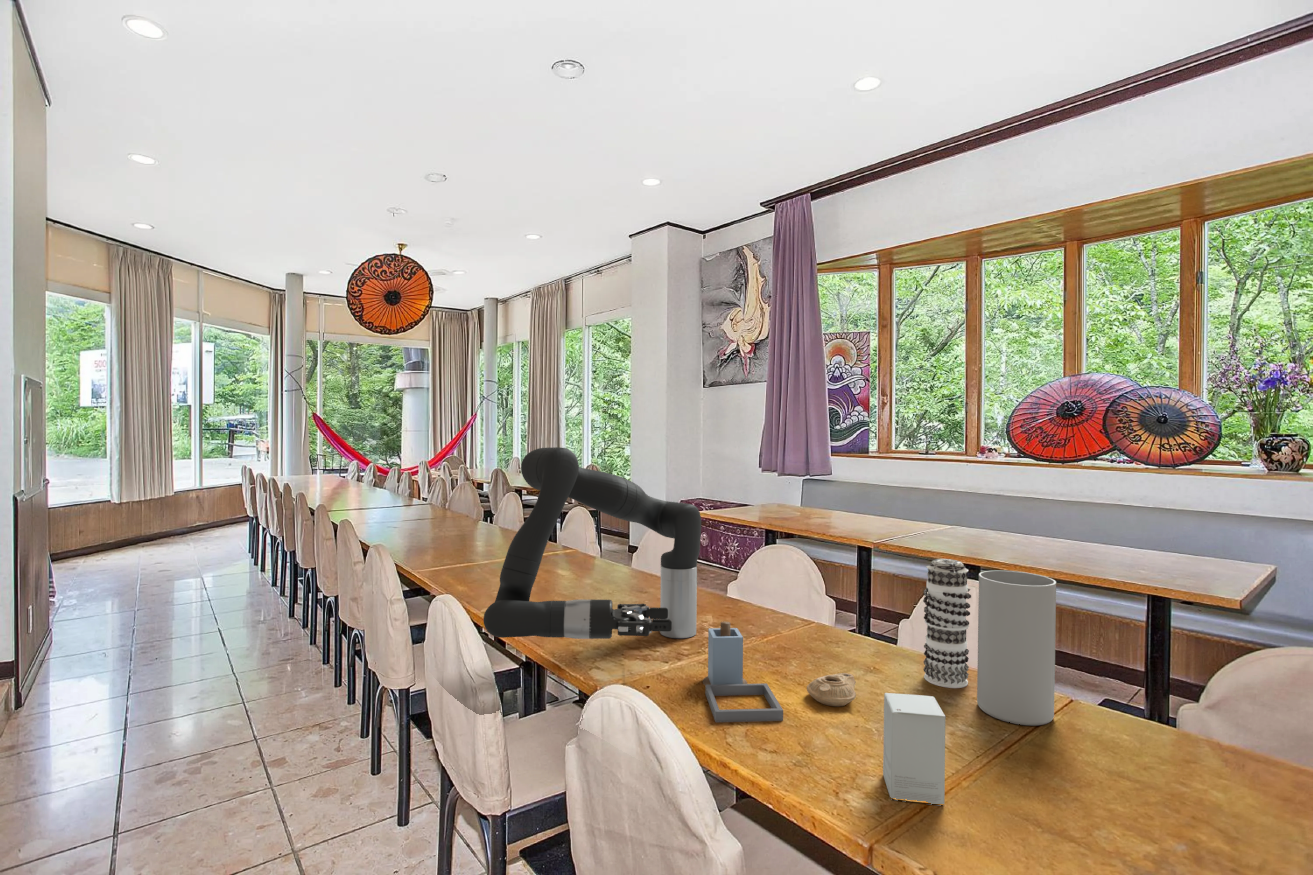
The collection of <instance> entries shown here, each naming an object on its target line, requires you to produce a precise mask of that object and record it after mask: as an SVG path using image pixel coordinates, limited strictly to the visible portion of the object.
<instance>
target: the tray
mask: <svg viewBox="0 0 1313 875" xmlns="http://www.w3.org/2000/svg"><path fill="white" fill-rule="evenodd" d="M704 693H705V697H706V699H707V702H708V705H709V708H710V710H711V714H712V717H713V719H714V722H715V723H741V722H742V723H743V722H745V723H746V722H781V721H782V722H784V709H783V707H782V706H781V704H780V703H779V701H778V699H777V697H776V695H775V694H774V693H773V691H772V690H771V687H770V686H769V685H768V683H747V684H713V685H706V686H705V692H704ZM759 695H761V696H764V697H765V700H766V701H767V704H768V705H769V706H770V708H743V709H742V708H741V709H740V708H738V709H736V708H735V709H733V708H732V709H720V708H719V705H718V702H717V700H716V698H715V696H719V697H720V696H723V697H725V696H759Z"/></svg>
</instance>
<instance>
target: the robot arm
mask: <svg viewBox="0 0 1313 875" xmlns="http://www.w3.org/2000/svg"><path fill="white" fill-rule="evenodd" d="M520 472H521V475H522V477H523V480H524V481H525V482H526V483H527V484H528V486H530V487H531V488H532V489H535V490H536V491H539V494H538V496H537V500H536V502H535V505H534V506H533V509H532V510H531V512H530V514H529V515H528V517H527V518H526V519H525V521H524V523H523V524H522V525H521V526H520V527H519V529H518V531H517V532H516V534H515V535H514V536H513V538H512V539H511V540H512V541H511V542H510V544H509V547H508V550H507V552H506V555H505V558H504V562H503V565H502V568H501V570H500V575H499V588H498V591H497V594H496V597H495V601H494V602H493V603H491V604H490V605H489V606H488V607H487V609H486V610H485V612H484V614H483V626H484V628H485V630H486V631H487V633H488V634H490V635H491V636H492V637H496V638H499V639H500V638H503V639H504V638H521V637H522V638H523V637H540V638H568V639H576V640H577V639H579V640H582V639H583V640H586V639H587V640H590V639H591V640H595V639H597V640H598V639H599V640H600V639H601V640H602V639H604V640H608V639H611V638H612V636H613V630H617V636H621V637H622V636H625V637H626V636H627V637H629V636H633V637H634V636H635V637H636V636H637V637H648V636H650V634H652V633H653V632H659V633H660V635H662V636H664V637H666V638H669V639H688V638H691V637H694V636H696V635H697V615H698V614H697V611H698V610H697V608H698V607H697V606H698V605H697V603H698V602H697V601H698V600H697V599H698V598H697V596H698V594H697V589H698V587H697V584H698V577H697V576H698V575H697V574H698V573H697V572H698V567H697V566H698V559H699V556H700V552H701V539H702V538H701V537H702V517H701V513H700V510H699V508H698V507H697V506H696V505H694V504H691V503H686V502H685V503H684V502H675V501H667V500H662V499H658V498H655V497H652V496H650V495H648V494H647V493H646V492H645V491H644V490H643V489H642V487H641V486H640V485H638V484H637V483H635V482H634V481H631V480H629V479H626V478H624V477H621V476H619V475H616V474H614V473H609V472H605V471H600V470H595V469H590V468H589V469H588V468H585V467H584V468H583V467H580V466H579V460H578V457H577V455H576V454H575V453H574V452H573V451H572V450H571V449H569V448H567V447H556V446H555V447H539V448H536V449H534V450H531V451H530V452H528V453H527V454H526V455H525V456H524V457H523V458H522V462H521V465H520ZM569 498H570V499H572V500H573V501H576V502H578V503H580V504H582V505H584V506H587V507H589V508H590V509H591V508H592V509H594V510H596V511H597V512H598V511H599V512H601V513H602V514H606V515H608V516H611V517H613V518H616V519H620V520H623V521H626V522H630V523H637V524H639V525H642V526H644V527H646V528H648V529H650V530H652V531H653V532H655V533H656V534H659V535H660V536H663V537H665V538H669V539H673V540H674V541H673V548H672V549H671V550H670V551H666V552H663V553H662V554H661V557H660V607H650V606H649V605H647V604H645V603H618V604H617V608H615V609H614V608H613V601H612V599H572V600H544V601H543V600H542V601H531V600H530V599H531V593H532V589H533V586H534V584H535V582H536V579H537V577H538V576H537V575H538V572H539V569H540V566H541V562H542V559H543V556H544V553H545V549H546V548H547V545H548V543H549V540H550V537H551V534H552V533H553V530H554V528H555V525H556V524H557V521H558V519H559V517H560V516H561V513H562V511H563V509H564V507H565V505H566V503H567V500H568V499H569Z"/></svg>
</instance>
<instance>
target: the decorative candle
mask: <svg viewBox="0 0 1313 875" xmlns="http://www.w3.org/2000/svg"><path fill="white" fill-rule="evenodd" d="M925 567H926V568H927V579H926V588H925V589H923V596H924V597H923V600H922V601H923V603H924V604H925V606H924V607H923V608H924V609H923V613H924V616H923V619H924V623H925V624H926V626H927V627H926V633H927V634H926V636H925V643H924V645H923V648H924V649H925V650H924V652H923V655H924V656H925V657H924V659H923V664H924V667H923V672H924V675H923V678H924V680H925V681H926V682H928V683H930V684H931V685H935V686H939V687H941V688H942V687H943V688H946V689H949V688H950V689H960V688H962V689H963V688H965V687H967V686H968V683H969V680H968V678H969V672H968V671H969V668H970V667H969V664H967V663H968V662H969V656H968V655H969V652H970V650H969V649H968V640H967V630H969V627H970V621H969V620H967V619H966V618H967V617H968V616H970V615H971V612H970V611H969V610H967V609H970V608H971V604H970V603H969V602H968V601H967V600H970V599H972V595H971V594H970V593H969V592H970V591H971V588H969V584H968V572H969V568H966V567H965V565H964V563H963V562H962V561H961V560H960V561H959V560H956V559H950V558H936V559H933V560H932V561H931V562H930V564H928V565H926V566H925Z"/></svg>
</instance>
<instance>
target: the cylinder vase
mask: <svg viewBox="0 0 1313 875" xmlns="http://www.w3.org/2000/svg"><path fill="white" fill-rule="evenodd" d="M977 603H978V605H977V606H978V612H977V615H978V616H977V621H978V623H977V676H976V677H977V678H976V680H977V682H976V687H977V688H976V690H977V691H976V701H977V702H976V703H977V706H978V707H979V709H980V710H982V711H983V712H984V713H986V714H987V715H989V716H990V717H992V718H994V719H998V720H1000V721H1003V722H1005V723H1009V722H1010V724H1015V725H1019V724H1020V725H1021V726H1029V727H1030V726H1043V725H1047V724H1049V723H1050V722H1052V720H1053V719H1054V717H1055V684H1056V683H1055V679H1056V676H1055V674H1056V673H1055V672H1056V622H1057V621H1056V615H1057V614H1056V612H1057V609H1056V608H1057V581H1056V580H1055V579H1053V578H1050V577H1048V576H1045V575H1041V574H1035V573H1030V572H1023V571H1013V570H985V571H981V572H979V573H978V602H977Z"/></svg>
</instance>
